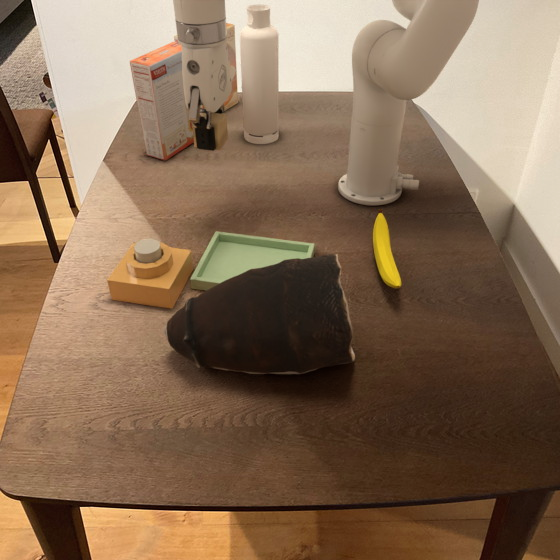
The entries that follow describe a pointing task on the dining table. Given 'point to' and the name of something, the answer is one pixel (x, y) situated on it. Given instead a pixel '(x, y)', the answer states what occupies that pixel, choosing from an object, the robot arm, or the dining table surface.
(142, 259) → the grey button cap
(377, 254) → the banana
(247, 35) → the bottle
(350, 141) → the robot arm
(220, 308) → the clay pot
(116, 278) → the button base
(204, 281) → the tray
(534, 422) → the dining table surface
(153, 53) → the cracker box
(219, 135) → the block
